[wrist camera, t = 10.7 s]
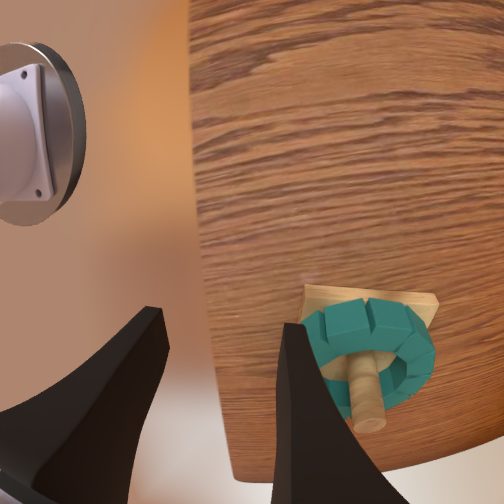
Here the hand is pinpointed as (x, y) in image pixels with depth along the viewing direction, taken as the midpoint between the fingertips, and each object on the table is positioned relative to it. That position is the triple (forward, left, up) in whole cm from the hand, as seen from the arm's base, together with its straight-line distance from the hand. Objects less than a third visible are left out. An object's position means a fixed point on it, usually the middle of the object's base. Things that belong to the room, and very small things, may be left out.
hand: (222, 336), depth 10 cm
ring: (+8, -9, -7) cm, 13 cm away
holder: (+8, -8, -8) cm, 14 cm away
